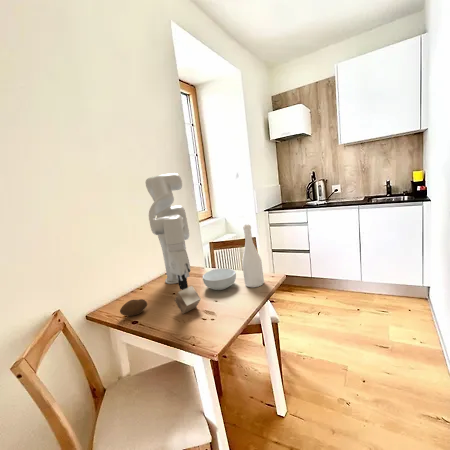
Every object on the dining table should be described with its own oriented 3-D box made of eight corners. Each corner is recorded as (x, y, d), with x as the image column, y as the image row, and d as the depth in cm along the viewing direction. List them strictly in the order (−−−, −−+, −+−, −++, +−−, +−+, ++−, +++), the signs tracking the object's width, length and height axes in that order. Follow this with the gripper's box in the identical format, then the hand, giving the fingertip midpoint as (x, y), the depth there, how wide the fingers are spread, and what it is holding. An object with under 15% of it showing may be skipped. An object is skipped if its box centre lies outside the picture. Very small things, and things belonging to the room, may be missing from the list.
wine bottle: (262, 279, 132) (255, 222, 127) (265, 286, 123) (258, 225, 118) (244, 281, 132) (236, 224, 127) (246, 289, 123) (237, 228, 118)
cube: (174, 300, 110) (178, 291, 106) (187, 294, 115) (192, 285, 110) (182, 314, 107) (186, 305, 103) (196, 307, 112) (200, 298, 107)
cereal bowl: (223, 296, 118) (221, 282, 117) (197, 291, 129) (195, 278, 128) (243, 282, 132) (241, 269, 130) (218, 278, 142) (216, 266, 141)
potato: (151, 311, 114) (148, 296, 113) (125, 322, 107) (122, 307, 106) (144, 307, 120) (142, 293, 119) (120, 317, 112) (116, 303, 111)
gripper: (159, 247, 109) (167, 288, 112) (178, 251, 98) (186, 296, 101) (175, 243, 114) (182, 282, 117) (194, 245, 103) (201, 288, 106)
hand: (183, 288), depth 109 cm, fingers closed
